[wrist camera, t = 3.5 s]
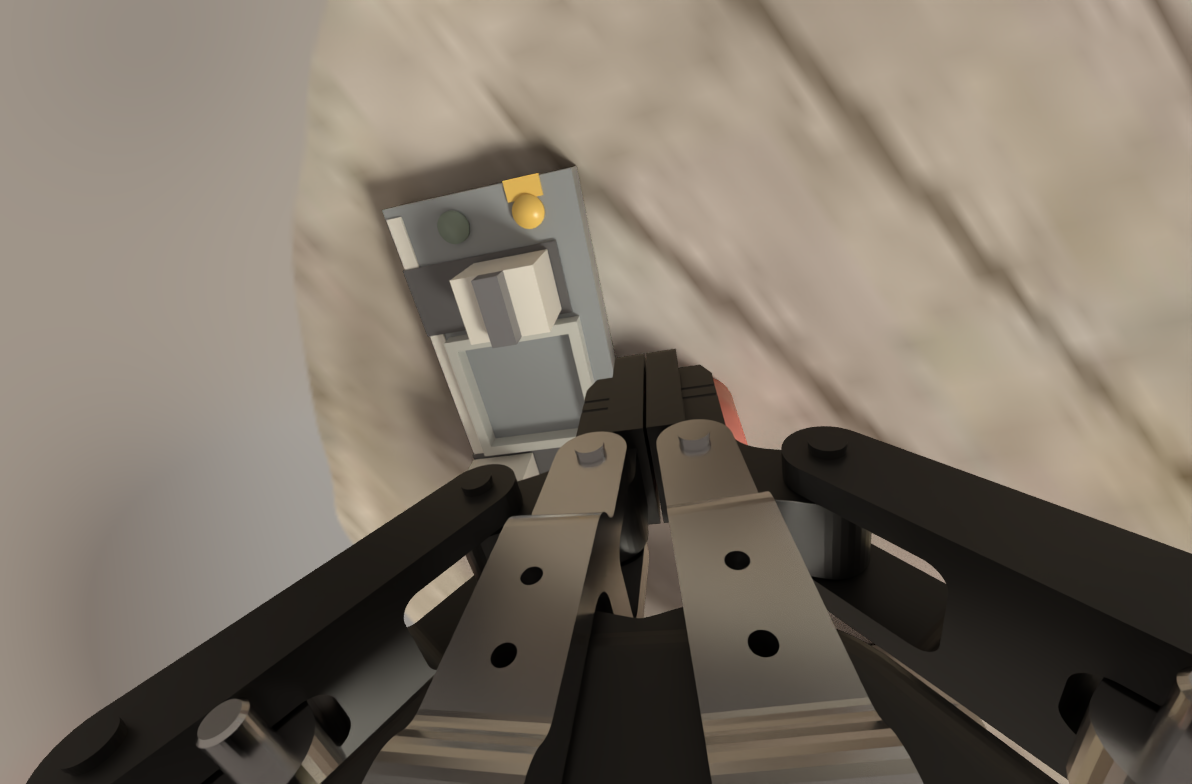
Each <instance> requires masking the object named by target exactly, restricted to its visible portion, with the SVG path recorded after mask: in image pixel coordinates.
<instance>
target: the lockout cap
mask: <svg viewBox="0 0 1192 784" xmlns="http://www.w3.org/2000/svg"><path fill="white" fill-rule="evenodd" d="M713 380H714V384H715V388H716V391H717V395H718V399H719V402H720V406H721V410H722V413H723V417H724V421H725V424H726V426H727V427H728V428H729V429H730V430H731V432H732V433H733V436H734V438H735V439H736V440H737V441H739V442H741V443H743V444H746V445H747V441H746V438H745V435H744V432H743V429H742V426H741V423H740V420H739V417H738V414H737V410H736V407H735V404H734V401H733V398H732V395H731V393H730V391H729V390H728V388H727V387H726V386H725V385H724V384H723V383H721V382H720V381H718V380H716V379H714V378H713Z"/></svg>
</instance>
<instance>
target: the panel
mask: <svg viewBox="0 0 1192 784" xmlns="http://www.w3.org/2000/svg"><path fill="white" fill-rule="evenodd" d="M382 212H383V214H384V217H385V220H386V222H387V225H388V228H389V230H390V233H391V236H392V238H393V241H394V244H395V246H396V249H397V252H398V254H399V257H400V260H401V262H402V265H403V268H404V271H403V273H404V275H405V278H406V281H407V283H408V286H409V289H410V291H411V294H412V297H413V299H414V302H415V304H416V307H417V310H418V312H419V315H420V318H421V320H422V323H423V326H424V328H425V331H426V334H427V336H428V337H430V339H431V342H432V345H433V347H434V350H435V352H436V355H437V358H438V360H439V363H440V366H441V368H442V371H443V374H444V376H445V379H446V382H447V384H448V387H449V390H450V392H451V395H452V398H453V400H454V403H455V406H456V408H457V411H458V414H459V416H460V419H461V422H462V424H463V427H464V429H465V432H466V435H467V437H468V440H469V443H470V445H471V448H472V451H473V458H474V460H476V459H484V458H493V457H501V456H510V455H518V454H526V453H533V455H534V459H535V462H536V465H537V468H538V471H539V474H542V473H544V472H547V471H549V470H550V468H551V465H552V463H553V460H554V458H555V455H556V453H557V451H558V450H559V449H560V447H561V446H563V445H564V444H565V443H566V442H568V441H569V440H571V439H573V438H575V437H576V434H577V430H578V426H579V421H580V417H581V413H582V409H583V405H584V400H585V396H586V392H587V390H588V389H589V388H590V387H591V386H592V385H593V384H594V383H595V382H596V381H597V380H599V379H606V378H612V377H613V370H614V363H615V354H614V349H613V344H612V339H611V334H610V329H609V324H608V319H607V314H606V310H605V305H604V300H603V295H602V290H601V285H600V280H599V275H598V270H597V265H596V260H595V255H594V250H593V245H592V240H591V235H590V230H589V225H588V220H587V215H586V210H585V205H584V200H583V195H582V190H581V185H580V180H579V175H578V171H577V166H573V167H569V168H564V169H560V170H555V171H551V172H546V173H542V174H539V173H536V174H531V175H527V176H522V177H518V178H513V179H509V180H504V181H502V183H497V184H493V185H488V186H484V187H479V188H475V189H470V190H466V191H462V192H457V193H453V194H448V195H444V196H439V197H435V198H430V199H426V200H421V201H417V202H412V203H408V204H403V205H399V206H395V207H392V208H388V209H384V210H382ZM545 249H547V251H548V255H549V259H550V263H551V267H552V271H553V276H554V280H555V284H556V288H557V292H558V296H559V300H560V304H561V311H560V313H559V315H558V317H557V319H556V321H555V323H554V325H553V327H552V329H551V331H550V332H547V333H541V334H535V335H529V336H523V337H521V339H520V340H519V342H518V344H517V345H511V346H505V347H498V348H492V346H491V342H486V343H480V344H474V345H471V343H470V340H469V337H468V334H467V331H466V328H465V325H464V322H463V319H462V316H461V313H460V310H459V307H458V304H457V302H456V299H455V296H454V293H453V290H452V287H451V284H450V280H451V279H453V278H454V277H455V276H457V275H458V274H459V273H461V272H462V271H464V270H465V269H466V268H468V267H469V266H471V265H472V264H473V263H478V262H483V261H488V260H493V259H498V258H504V257H509V256H514V255H519V254H524V253H529V252H534V251H539V250H545Z"/></svg>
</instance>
